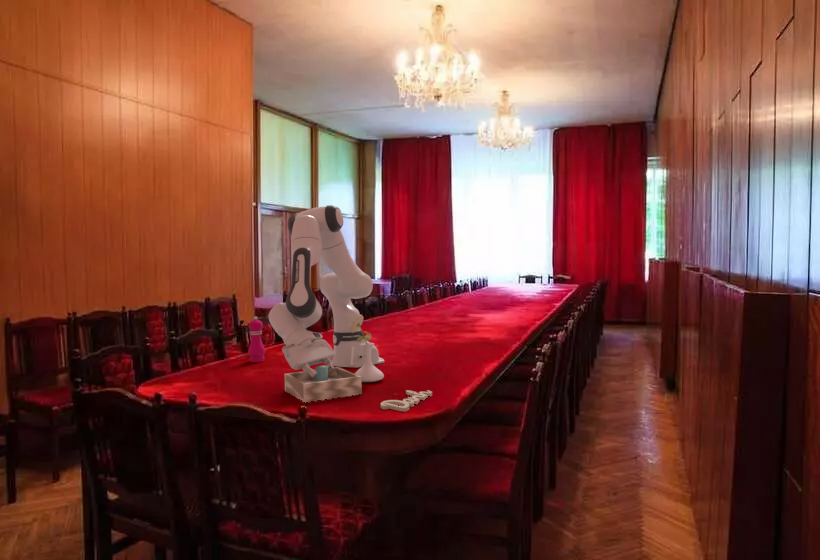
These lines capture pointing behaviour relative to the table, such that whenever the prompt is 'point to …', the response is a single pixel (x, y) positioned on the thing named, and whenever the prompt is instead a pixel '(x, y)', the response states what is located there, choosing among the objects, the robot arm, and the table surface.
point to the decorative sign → (406, 401)
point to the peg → (321, 373)
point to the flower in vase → (366, 355)
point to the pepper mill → (256, 341)
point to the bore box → (323, 385)
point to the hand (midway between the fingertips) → (323, 372)
